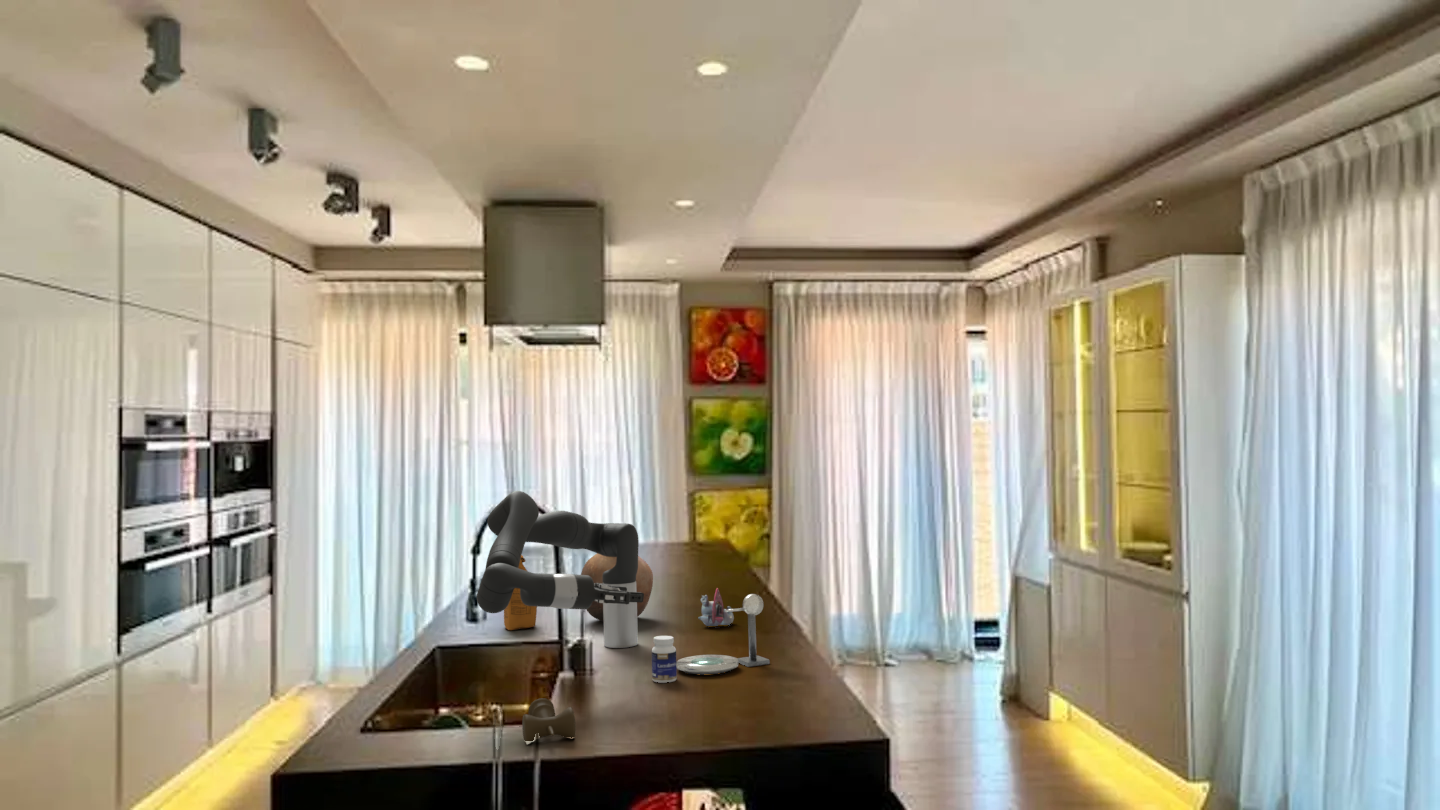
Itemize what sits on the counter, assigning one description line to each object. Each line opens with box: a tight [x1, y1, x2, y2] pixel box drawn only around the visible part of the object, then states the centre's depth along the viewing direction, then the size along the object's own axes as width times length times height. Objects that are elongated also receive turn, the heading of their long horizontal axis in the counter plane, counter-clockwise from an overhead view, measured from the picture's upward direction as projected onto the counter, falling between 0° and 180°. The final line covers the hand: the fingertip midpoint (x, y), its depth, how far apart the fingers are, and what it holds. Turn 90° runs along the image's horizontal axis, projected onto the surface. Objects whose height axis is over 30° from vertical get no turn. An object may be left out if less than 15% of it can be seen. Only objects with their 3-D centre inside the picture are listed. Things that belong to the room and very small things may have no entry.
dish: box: [676, 654, 739, 675], centre depth 240 cm, size 15×15×2 cm
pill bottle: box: [651, 635, 678, 684], centre depth 231 cm, size 6×6×10 cm
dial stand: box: [725, 593, 771, 668], centre depth 245 cm, size 6×10×17 cm, turn 117°
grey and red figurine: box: [698, 587, 735, 627], centre depth 298 cm, size 11×11×12 cm
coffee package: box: [503, 554, 538, 631], centre depth 305 cm, size 10×12×22 cm
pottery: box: [580, 553, 654, 622], centre depth 310 cm, size 23×23×25 cm
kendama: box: [521, 698, 577, 741], centre depth 190 cm, size 6×10×20 cm
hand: (634, 594), depth 227 cm, fingers open, 8 cm apart
